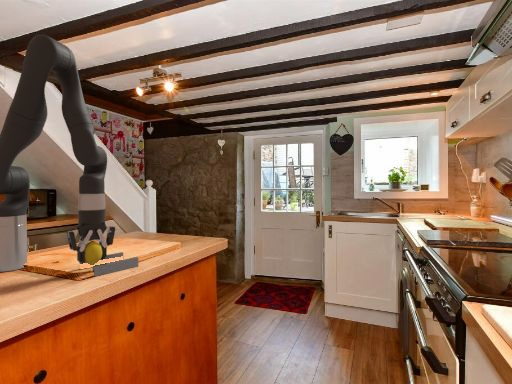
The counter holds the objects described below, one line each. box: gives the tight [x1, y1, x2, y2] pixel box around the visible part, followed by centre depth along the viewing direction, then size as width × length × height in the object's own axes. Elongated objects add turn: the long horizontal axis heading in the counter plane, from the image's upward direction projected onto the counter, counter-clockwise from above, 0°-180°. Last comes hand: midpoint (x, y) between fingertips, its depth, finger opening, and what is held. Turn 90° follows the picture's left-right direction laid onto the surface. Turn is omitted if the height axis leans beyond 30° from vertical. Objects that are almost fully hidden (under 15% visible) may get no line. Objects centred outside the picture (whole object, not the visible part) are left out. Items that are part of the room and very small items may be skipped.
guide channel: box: [78, 251, 139, 277], centre depth 96 cm, size 11×14×3 cm
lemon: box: [84, 240, 102, 265], centre depth 92 cm, size 6×6×8 cm
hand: (92, 260), depth 92 cm, fingers closed on lemon, 5 cm apart
